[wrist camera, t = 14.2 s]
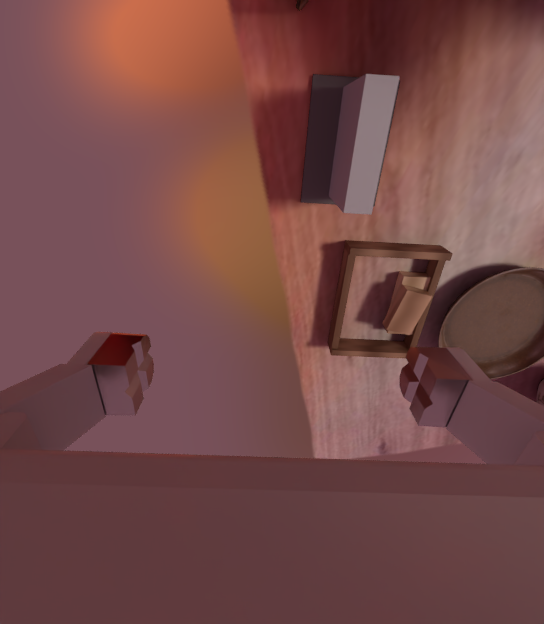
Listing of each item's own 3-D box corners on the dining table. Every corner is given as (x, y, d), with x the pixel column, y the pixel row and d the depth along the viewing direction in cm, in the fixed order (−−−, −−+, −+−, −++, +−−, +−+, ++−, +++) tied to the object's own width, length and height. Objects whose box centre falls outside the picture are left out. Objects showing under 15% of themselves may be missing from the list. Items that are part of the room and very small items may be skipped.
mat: (399, 80, 37) (400, 80, 37) (373, 205, 44) (374, 206, 44) (313, 74, 37) (313, 74, 36) (300, 201, 44) (300, 202, 43)
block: (369, 88, 37) (399, 76, 28) (350, 197, 43) (371, 214, 34) (343, 87, 37) (366, 73, 28) (328, 196, 43) (343, 212, 34)
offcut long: (423, 271, 49) (430, 277, 47) (406, 326, 54) (412, 334, 52) (398, 269, 49) (403, 276, 47) (382, 325, 54) (387, 333, 52)
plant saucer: (568, 242, 47) (588, 250, 44) (554, 351, 57) (569, 362, 54) (424, 282, 50) (434, 292, 47) (434, 379, 60) (442, 391, 57)
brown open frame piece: (440, 245, 47) (452, 253, 44) (407, 346, 56) (415, 358, 53) (345, 240, 46) (350, 248, 43) (327, 342, 55) (331, 355, 52)
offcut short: (426, 290, 48) (432, 296, 46) (405, 328, 51) (409, 335, 50) (402, 284, 48) (407, 290, 46) (382, 323, 51) (386, 329, 49)
